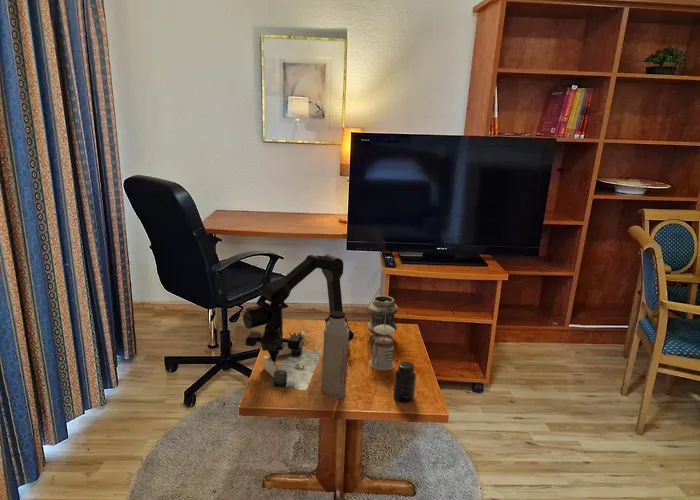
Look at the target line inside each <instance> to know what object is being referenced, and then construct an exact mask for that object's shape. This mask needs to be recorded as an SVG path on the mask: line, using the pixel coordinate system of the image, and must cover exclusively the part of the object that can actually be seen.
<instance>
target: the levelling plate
mask: <svg viewBox="0 0 700 500" xmlns="http://www.w3.org/2000/svg"><path fill="white" fill-rule="evenodd" d="M322 354H323V350H318V349H309V348H302V352H301V353H297V354H296V353H292V352H291V353H288V354H284V355H283V357H282V359H281V361H280V363H279V365H278V370H284V371H286V372H287V383H286V384H283V385H277V384H275V383H274V377H273V376H271V379H270V380H269V382H268V384H267V387H276V388H283V389H291V390H300V391H307V390H308V387H309V385H310V382H311V380H312V378H313V375H314V372H315V370H316V367H317V365H318V363H319V360H320V358H321V356H322Z"/></svg>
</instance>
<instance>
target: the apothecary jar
mask: <svg viewBox="0 0 700 500" xmlns="http://www.w3.org/2000/svg"><path fill="white" fill-rule="evenodd" d="M385 301H388V302H389V305H387V308H386V305H385V304H384V302H385ZM398 308H399V307H398V305H397V304H396V303H395V299H394V298H393V297H391V296H388V295H376V296H375V297H373V301H371V303H369V305H368V309H369V311H370V312H371V315H370V316H371V317H370V321H369V322H368V323H367V329H368V331H369V332H370V333H372V334H371V335H369V340H370V341H371V340H372V338H373V337H374V336H376V337H377V336H387V337H390V338H392V339H393V336H391V335H380V334H377V333H375V332H374V330H373V329H374V327H376V326H378V325H389V326H391V327H393V328H394V329H395V332H396V331H397V329H398V326H397V324H396V322H395V314H396V313H397V312H398V310H399V309H398ZM385 313H386V320H385ZM374 338H375V337H374ZM374 338H373V340H372V342H371V343H373V342H374ZM393 340H394V339H393Z"/></svg>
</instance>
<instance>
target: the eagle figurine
mask: <svg viewBox="0 0 700 500" xmlns="http://www.w3.org/2000/svg"><path fill="white" fill-rule="evenodd" d="M288 335H289V336H291V335H295V336H301V337H302V347H303V346H304V347H306V346H308V345H309V342H308V340H307V339H306V333H305V331H304V330H300V332H297V334H296V332H293V334H292V333H290V332H288Z"/></svg>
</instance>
